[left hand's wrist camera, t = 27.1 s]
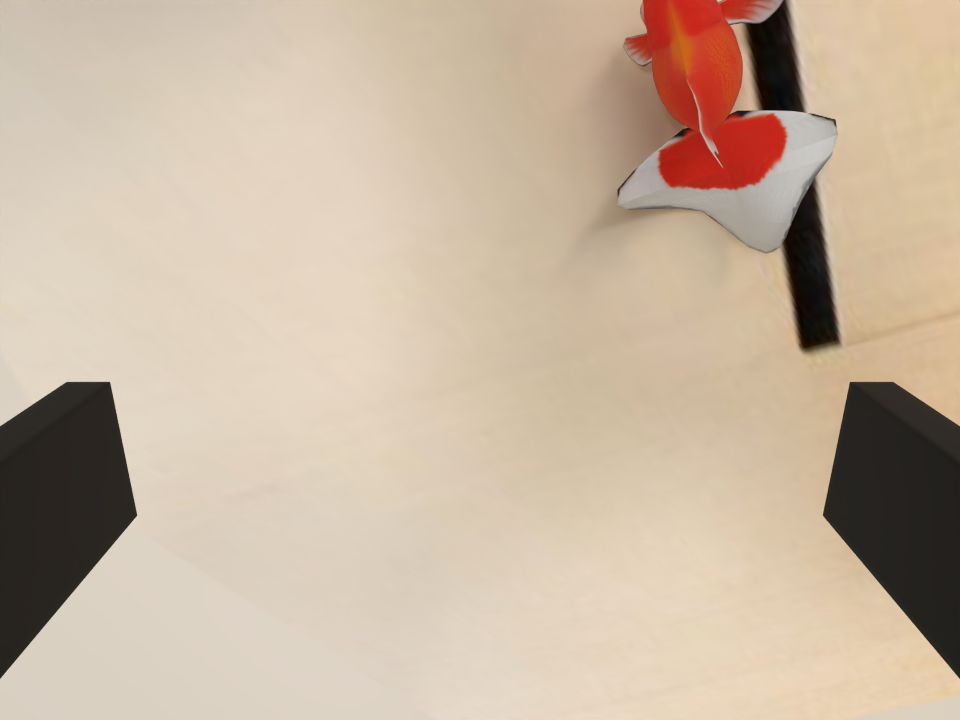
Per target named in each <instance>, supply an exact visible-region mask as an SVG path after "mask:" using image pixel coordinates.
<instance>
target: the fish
mask: <svg viewBox="0 0 960 720" xmlns="http://www.w3.org/2000/svg"><path fill="white" fill-rule="evenodd" d="M783 1H784V0H722V1H720V2H717V1H716V0H643V1H642V4H641V8H640V13H641V18H642V20H643V22H644V24H645V25H646V28H647V33H646V34H642V35H637V36H634V37H629V38H626V40H625V44H624V45H623V47H624V49H625V51H626V52H627V54H628V55H629V57H631V58H632V59H633V60H634V61H635V62H636V63H637V64H639V65H641V66H645V65H647V64H649V63H650V62H652V69H653V77H654V82H655V85H656V88H657V91H658V94H659V96H660V98H661V100H662V102H663V104H664V105H665V107H666V108H667V110H668V111H669V113H670V114H671V115H672V116H673V117H674V118H675V119H676V120H677V121H679V122H680V123H682V124H683V125H685V126H687V127H689V128H687V129H683V130H682V131H680V132H679V133H678V134H677V135H675V136H674V137H673V138H671V139H670V140H669V141H668V142H666V143H665V144H664V145H663V146H661V147H660V148H659V149H658V150H656V151H655V152H654V153H653V154H651V155H650V156H649V157H648V158H647V159H646V160H645V161H644V162H642V163H641V164H640V165H639V166H638V167H637V168H636V169H635V170H634V171H633V173H632V174H631V175H630V176H629V177H628V178H627V179H626V181H625V182H624V183H623V184H622V185H621V186H620V188H619V189H618V206H620V207H623V208H626V209H629V210H632V209H662V208H681V209H690V210H698V211H703V212H704V213H705V214H707V215H708V216H710V217H711V218H712V219H714V220H715V221H716V222H718V223H719V224H721V225H722V226H724V227H725V228H726V229H728V230H729V231H730V232H731V233H732V234H733V235H735V236H736V237H737V238H738V239H739V240H740V241H742V242H743V243H744V244H745V245H747V246H748V247H750V248H753V249H755V250H758V251H761V252H763V253H770V252H773V251H775V250H776V249H778V248H779V247H780V246H781V244H782V243H783V241H784V239H785V238H786V236H787V233H788V230H789V228H790V225H791V223H792V220H793V218H794V216H795V214H796V211H797V209H798V207H799V205H800V202H801V200H802V199H803V197H804V195H805V193H806V192H807V190H808V188H809V186H810V185H811V183H812V181H813V179H814V178H815V176H816V175H817V174H818V172H819V171H820V170H821V169H822V167H823V166H824V165H825V163H826V162H827V161H828V159H829V158H830V157H831V155H832V152H833V148H834V145H835V142H836V138H837V135H838V133H837V127H836V120H835V119H831V118H827V117H823V116H819V115H815V114H810V113H802V112H794V111H736V112H734V113H732V114H730V112H731V110H732V108H733V106H734V104H735V101H736V99H737V96H738V94H739V91H740V88H741V83H742V72H743V64H742V57H741V53H740V49H739V46H738V43H737V40H736V36H735V34H734V32H733V30H732V28H731V26H730V25H732V24H738V23H749V24H760V23H762V22H764V21H766V20H767V19H768V18H769V17H770V16H771V15H772V14H773V13H774V12H775V11H776V10H777V9H778V8H779V6H780V5H781V3H782V2H783ZM729 114H730V115H729Z"/></svg>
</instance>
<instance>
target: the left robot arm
mask: <svg viewBox="0 0 960 720" xmlns="http://www.w3.org/2000/svg"><path fill="white" fill-rule="evenodd" d="M136 516H137V512H136V507H135V503H134V498H133V493H132V488H131V483H130V478H129V473H128V468H127V463H126V458H125V453H124V448H123V444H122V439H121V434H120V429H119V424H118V419H117V414H116V409H115V404H114V399H113V394H112V389H111V385H110V382H66V383H65V384H63V385H62V386H60V387H59V388H57V389H56V390H54V391H53V392H51V393H50V394H48V395H47V396H45V397H44V398H42V399H41V400H39V401H38V402H36V403H35V404H33V405H32V406H30V407H29V408H27V409H26V410H24V411H23V412H21V413H20V414H18V415H17V416H15V417H14V418H12V419H11V420H9V421H8V422H6V423H5V424H3V425H2V426H0V678H1V677H2V676H3V675H4V673H5V672H6V671H7V670H8V669H9V668H10V666H11V665H12V664H13V663H14V662H15V660H16V659H17V658H18V657H19V656H20V654H21V653H22V652H23V651H24V650H25V648H26V647H27V646H28V645H29V644H30V642H31V641H32V640H33V639H34V638H35V637H36V635H37V634H38V633H39V632H40V631H41V629H42V628H43V627H44V626H45V625H46V623H47V622H48V621H49V620H50V619H51V617H52V616H53V615H54V614H55V613H56V612H57V610H58V609H59V608H60V607H61V606H62V604H63V603H64V602H65V601H66V600H67V598H68V597H69V596H70V595H71V594H72V592H73V591H74V590H75V589H76V588H77V586H78V585H79V584H80V583H81V582H82V581H83V579H84V578H85V577H86V576H87V575H88V573H89V572H90V571H91V570H92V569H93V567H94V566H95V565H96V564H97V563H98V562H99V560H100V559H101V558H102V557H103V556H104V554H105V553H106V552H107V551H108V550H109V548H110V547H111V546H112V545H113V544H114V542H115V541H116V540H117V539H118V538H119V536H120V535H121V534H122V533H123V532H124V531H125V529H126V528H127V527H128V526H129V525H130V523H131V522H132V521H133V520H134V519H135V517H136ZM823 516H824V517H825V519H826V520H827V521H828V522H829V523H830V525H831V526H832V527H833V528H834V529H835V531H836V532H837V533H838V534H839V535H840V536H841V538H842V539H843V540H844V541H845V542H846V544H847V545H848V546H849V547H850V548H851V550H852V551H853V552H854V553H855V554H856V556H857V557H858V558H859V559H860V560H861V562H862V563H863V564H864V565H865V566H866V567H867V569H868V570H869V571H870V572H871V573H872V575H873V576H874V577H875V578H876V579H877V581H878V582H879V583H880V584H881V585H882V587H883V588H884V589H885V590H886V591H887V592H888V594H889V595H890V596H891V597H892V598H893V600H894V601H895V602H896V603H897V604H898V606H899V607H900V608H901V609H902V610H903V612H904V613H905V614H906V615H907V616H908V618H909V619H910V620H911V621H912V622H913V623H914V625H915V626H916V627H917V628H918V629H919V631H920V632H921V633H922V634H923V635H924V637H925V638H926V639H927V640H928V641H929V643H930V644H931V645H932V646H933V647H934V648H935V650H936V651H937V652H938V653H939V654H940V656H941V657H942V658H943V659H944V660H945V662H946V663H947V664H948V665H949V666H950V668H951V669H952V670H953V671H954V672H955V674H956V675H957V676H958V677H959V678H960V426H958V425H957V424H955V423H954V422H952V421H951V420H949V419H948V418H946V417H945V416H943V415H942V414H940V413H939V412H937V411H936V410H934V409H933V408H931V407H930V406H928V405H927V404H925V403H924V402H922V401H921V400H919V399H918V398H916V397H915V396H913V395H912V394H910V393H909V392H907V391H906V390H904V389H903V388H901V387H900V386H898V385H897V384H895V383H894V382H850V384H849V389H848V394H847V399H846V404H845V409H844V414H843V419H842V424H841V429H840V434H839V439H838V444H837V448H836V453H835V458H834V463H833V468H832V473H831V478H830V483H829V488H828V493H827V498H826V503H825V507H824V512H823Z"/></svg>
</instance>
